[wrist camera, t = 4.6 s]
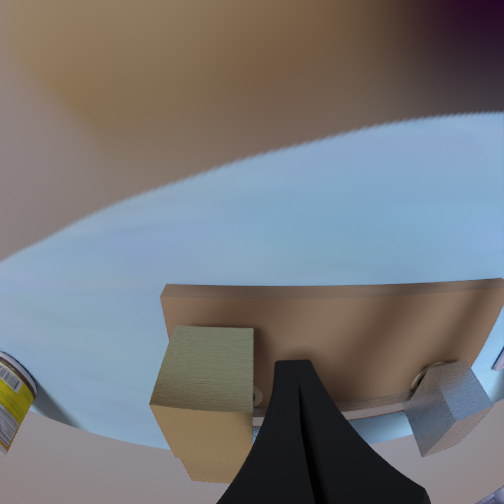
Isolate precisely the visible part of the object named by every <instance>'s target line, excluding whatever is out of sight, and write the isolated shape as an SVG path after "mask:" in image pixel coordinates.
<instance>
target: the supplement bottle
mask: <svg viewBox="0 0 504 504" xmlns="http://www.w3.org/2000/svg"><path fill="white" fill-rule="evenodd" d="M36 394H37V389H36V386H35V383H34V381H33V380H32V378H31V377H30V375H29V374H28V373H27V372H26V370H25V369H24V368H23V367H22V366H21V365H20V364H19V363H18V362H16V361H15V360H14V359H13V358H11V357H10V356H8V355H7V354H5V353H3V352H0V457H4V456H6V454H7V452H8V450H9V448H10V446H11V443H12V441H13V439H14V437H15V435H16V433H17V431H18V429H19V427H20V425H21V423H22V421H23V419H24V417H25V415H26V414H27V412H28V410H29V408H30V406H31V404H32V402H33V400H34V399H35V397H36Z"/></svg>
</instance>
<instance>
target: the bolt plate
mask: <svg viewBox="0 0 504 504" xmlns="http://www.w3.org/2000/svg"><path fill="white" fill-rule="evenodd" d="M160 298H161V303H162V309H163V314H164V318H165V323H166V328H167V333H168V337H169V341H170V338H171V335H172V332H173V329H174V327H175V325H177V326H195V327H221V328H253V407H256V406H268V405H269V401H270V398H271V394H272V387H273V377H274V365H275V362H276V361H278V360H307V359H309V360H310V361H311V362H312V364H313V366H314V368H315V370H316V372H317V374H318V376H319V378H320V380H321V382H322V383H323V385H324V387H325V389H326V390H327V392H328V393H329V395H330V397H331V398H332V400H333V401H334V402H342V401H350V400H358V399H365V398H372V397H378V396H384V395H390V394H395V393H401V392H405V391H410V390H413V391H415V390H417V388H418V386H419V385H420V383H421V381H422V380H423V378H424V376H425V374H426V372H427V371H428V369H429V368H433V367H437V366H442V365H446V364H450V363H454V362H458V361H462V360H466V362H467V363H468V365H469V366H470V368H471V367H472V365H473V363H474V362H475V360H476V358H477V357H478V355H479V353H480V351H481V349H482V348H483V346H484V344H485V342H486V340H487V338H488V336H489V334H490V332H491V330H492V328H493V326H494V324H495V322H496V320H497V318H498V316H499V314H500V312H501V309H502V307H503V305H504V279H502V278H496V279H483V280H468V281H452V282H434V283H412V284H386V285H349V286H216V285H178V284H166V286H165V288H164V290H163V292H162V294H161V296H160ZM400 411H404V410H400ZM395 412H399V411H395ZM395 412H391V413H395ZM386 414H390V413H386ZM380 415H385V414H380ZM380 415H375V416H380ZM369 417H374V416H369ZM363 418H368V417H363ZM357 419H362V418H357ZM350 420H356V419H350ZM347 421H349V420H347ZM253 427H261V426H253Z"/></svg>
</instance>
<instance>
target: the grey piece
mask: <svg viewBox="0 0 504 504" xmlns="http://www.w3.org/2000/svg"><path fill="white" fill-rule="evenodd" d="M334 403H335V404H336V406H337V407H338V409H339V410H340V411H341V413H342V414H343V415H344V417H345V418H346V419H347V420H350V419H357V418H363V417H369V416H375V415H380V414H386V413H391V412H395V411H400V410H404V411H405V413H406V416H407V418H408V421H409V423H410V426H411V429H412V431H413V434H414V437H415V439H416V442H417V445H418V448H419V451H420V453H421V456H422V457H425V456H428V455H431V454H434V453H436V452H439V451H442V450H444V449H447V448H449V447H452V446H454V445H456V444H459V443H460V442H461V441H462V440H463V439H464V438H465V437H466V436H467V435H468V434H469V433H470V432H471V431H472V430H473V428H474V427H475V426H476V425H477V424H478V423H479V422H480V421H481V420H482V418H483V417H484V416H485V415H486V414H487V413H488V411H489V410H490V409H491V408H492V406H493V404H492V402H491V400H490V399H489V397H488V395H487V394H486V392H485V390H484V389H483V387H482V385H481V384H480V382H479V380H478V379H477V377H476V376H475V374H474V372H473V371H472V369H471V368H470V366H469V365H468V363H467V362H466V360H462V361H458V362H454V363H450V364H446V365H442V366H437V367H433V368H429V369H428V371H427V372H426V374H425V376H424V378H423V380H422V381H421V383H420V385H419V386H418V388H417V390H415V391H413V390H410V391H405V392H401V393H395V394H390V395H384V396H378V397H372V398H365V399H358V400H350V401H342V402H334ZM267 408H268V406H256V407H253V426H261V425H262V423H263V420H264V417H265V414H266V411H267Z"/></svg>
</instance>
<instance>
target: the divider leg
mask: <svg viewBox="0 0 504 504" xmlns="http://www.w3.org/2000/svg"><path fill="white" fill-rule="evenodd" d="M149 405H150V407H151V410H152V412H153V414H154V416H155V418H156V420H157V423H158V425H159V427H160V429H161V431H162V433H163V435H164V437H165V439H166V441H167V443H168V445H169V446H170V448H171V450H172V452H173V454H174V456H175V457H178V458H180V459H181V461H182V463H183V465H184V467H185V468H186V470H187V472H188V474H189V476H190V477H191V479H192V480H193V481H202V482H214V483H230V484H231V483H232V481H233V480H234V478H235V476H236V475H237V473H238V472H239V470H240V468H241V467H242V465H243V463H244V461H245V460H246V458H247V456H248V454H249V452H250V450H251V448H252V434H253V328H221V327H195V326H177V325H175V327H174V329H173V332H172V335H171V338H170V341H169V344H168V347H167V350H166V353H165V356H164V359H163V362H162V365H161V368H160V371H159V374H158V377H157V381H156V384H155V387H154V390H153V393H152V396H151V400H150V403H149Z"/></svg>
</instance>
